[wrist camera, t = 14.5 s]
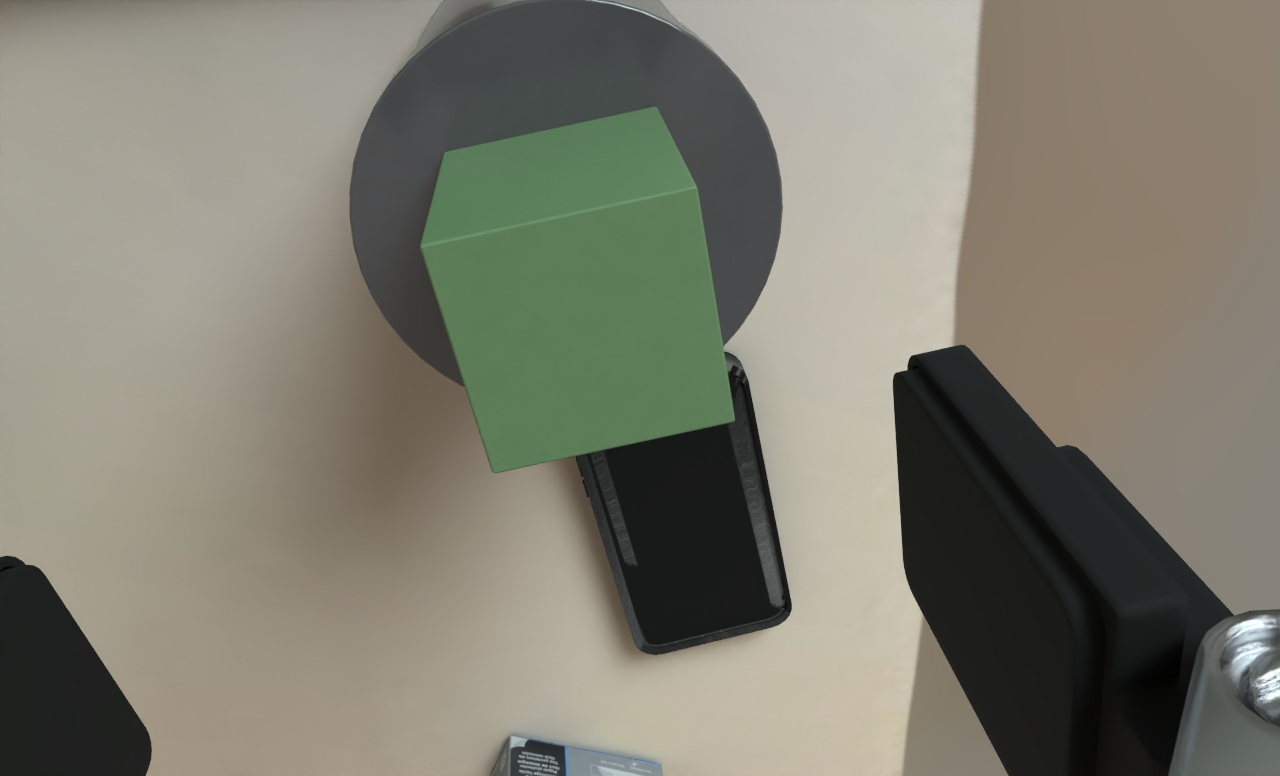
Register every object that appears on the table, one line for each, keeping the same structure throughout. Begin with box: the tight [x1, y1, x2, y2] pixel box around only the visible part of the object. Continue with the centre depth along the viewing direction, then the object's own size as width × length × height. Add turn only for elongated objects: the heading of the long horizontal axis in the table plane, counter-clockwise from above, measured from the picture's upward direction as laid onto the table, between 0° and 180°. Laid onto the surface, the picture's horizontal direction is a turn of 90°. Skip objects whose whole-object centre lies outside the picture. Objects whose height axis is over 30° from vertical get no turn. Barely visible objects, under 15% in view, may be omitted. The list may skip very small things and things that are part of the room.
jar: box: [350, 0, 783, 387], centre depth 29 cm, size 10×10×14 cm
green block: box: [420, 107, 735, 473], centre depth 21 cm, size 5×5×6 cm
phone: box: [576, 352, 792, 655], centre depth 44 cm, size 8×1×15 cm
